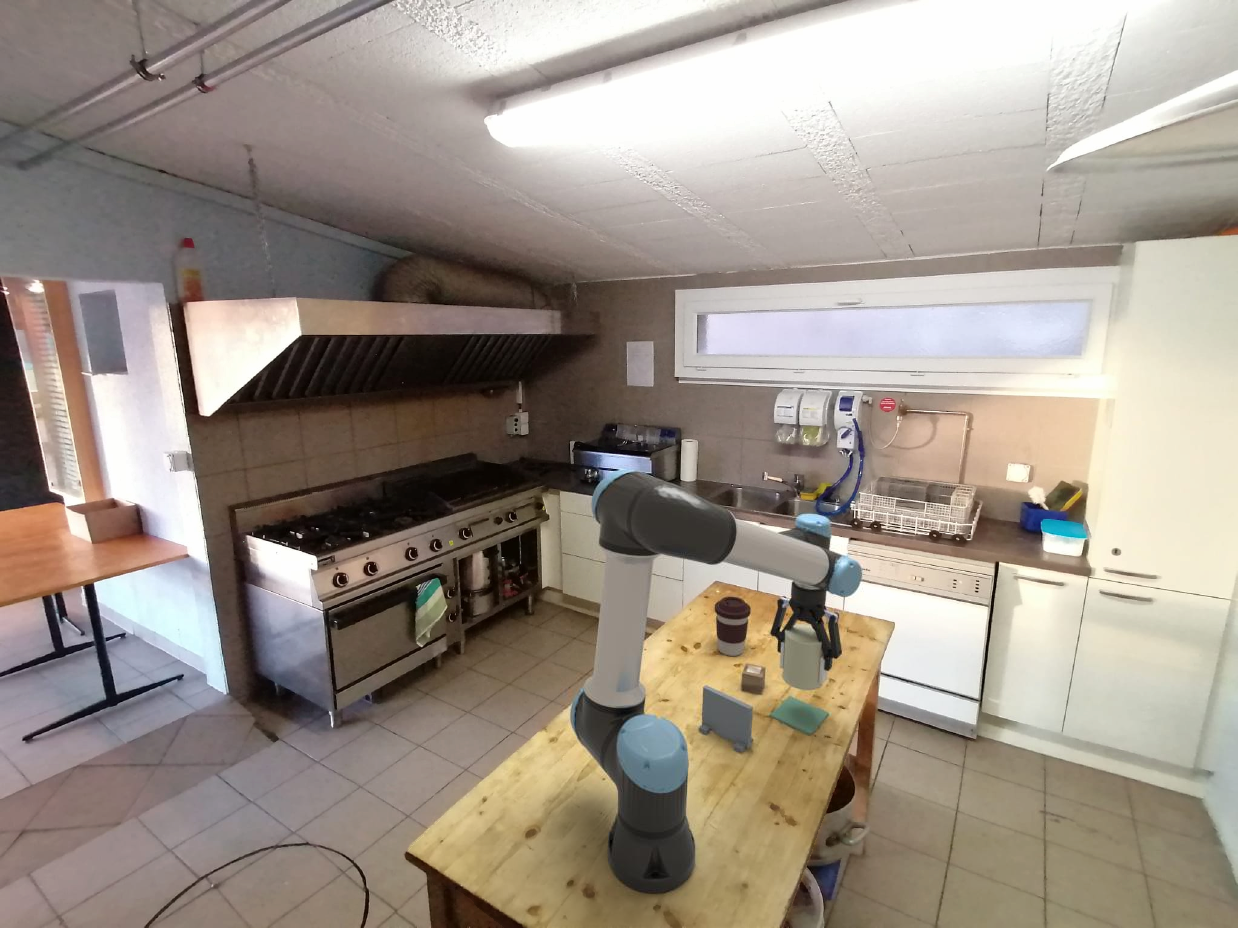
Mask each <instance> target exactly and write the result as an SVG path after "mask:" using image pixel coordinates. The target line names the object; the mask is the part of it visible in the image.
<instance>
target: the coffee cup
mask: <svg viewBox="0 0 1238 928" xmlns="http://www.w3.org/2000/svg"><path fill="white" fill-rule="evenodd" d="M751 611H752V610H751V606H750V605H749V604H748V603H746V601H745V600H744V599H742V598H740V597H738V596H725V597H722V598H721V599H720V600H718V601H717V602H716V603H715V604H714V612H715V614H716V617H715V620H716V621H715V623H716V637H717V650H718V651H719V652H720V653H721V654H723V655H725V656H728V657H729V656H730V657H735V656H740V655H742V654H743V653H744V651H745V644H746V643H745V642H746V640H747V632H748V624H749V616H751Z"/></svg>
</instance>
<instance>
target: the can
mask: <svg viewBox="0 0 1238 928" xmlns="http://www.w3.org/2000/svg"><path fill="white" fill-rule="evenodd" d="M821 645H822V642H819V641H818V638H817V635H816V633H815V630H814V629H813V628H812V626H811V624H803V623H802V624H797V623H796V624H795V625H794V626H793V628H791V629H790V630H789V631H788V630H785V650H784V665H783V669H782V674H781V677H782V679H783V682H785V683H786V685H788V686H791V687H792V688H794V689H798V690H800V691H801V690H802V691H815V690H819V689H820V688H821V687H822V686H823V685H824V683H823V684H819V673H820V660H821V656H822V655H824V654H823V651H822V649H821Z"/></svg>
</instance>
